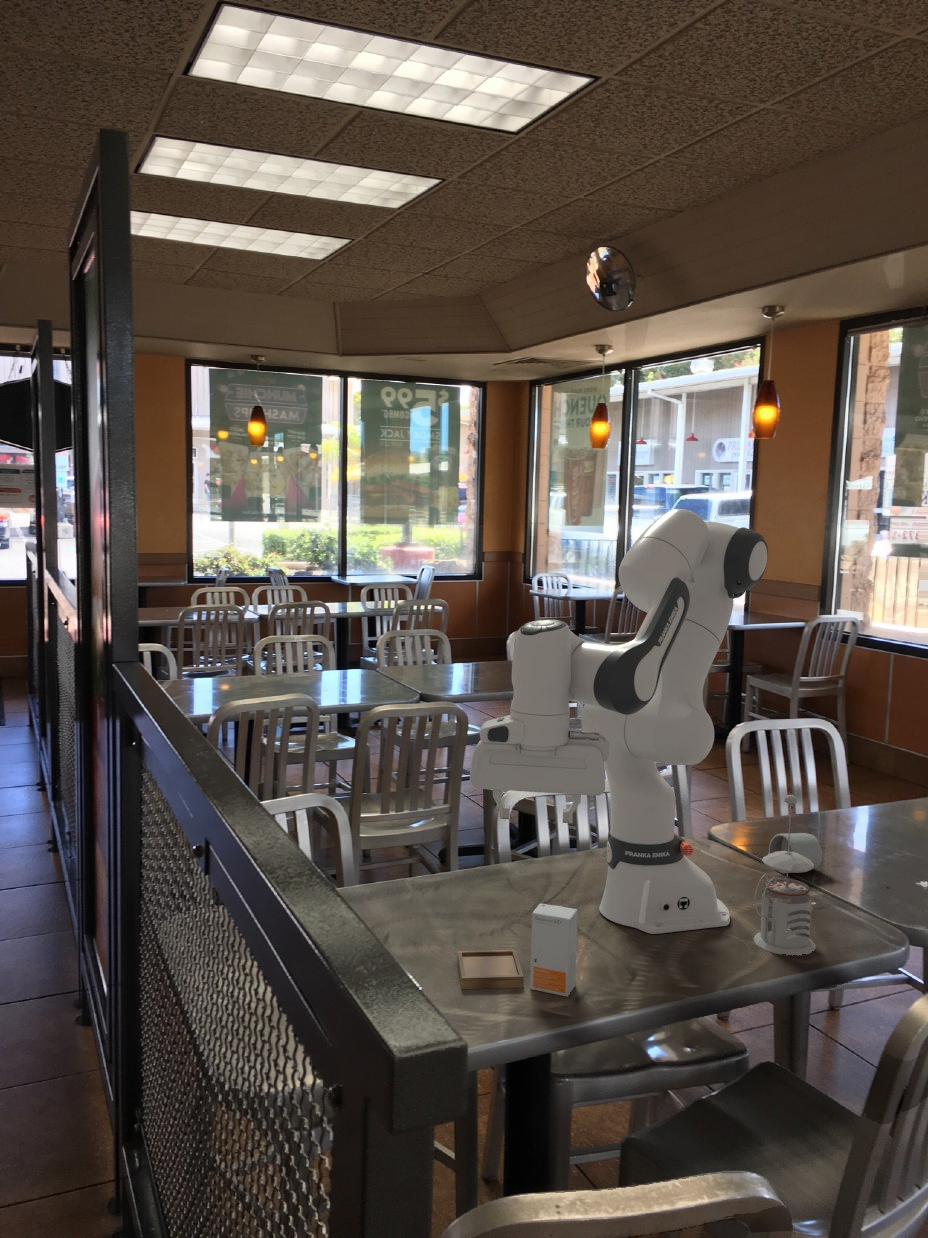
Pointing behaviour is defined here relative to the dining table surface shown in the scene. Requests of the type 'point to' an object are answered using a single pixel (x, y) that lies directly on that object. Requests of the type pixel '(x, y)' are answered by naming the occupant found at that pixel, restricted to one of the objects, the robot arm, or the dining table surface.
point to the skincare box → (553, 949)
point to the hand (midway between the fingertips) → (535, 820)
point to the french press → (786, 904)
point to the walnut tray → (490, 969)
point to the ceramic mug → (799, 846)
